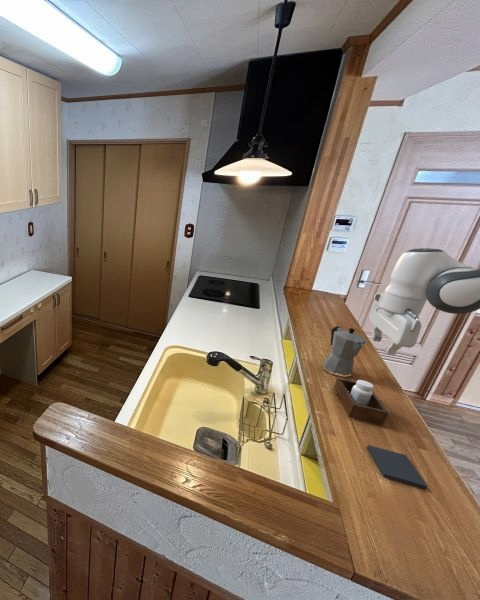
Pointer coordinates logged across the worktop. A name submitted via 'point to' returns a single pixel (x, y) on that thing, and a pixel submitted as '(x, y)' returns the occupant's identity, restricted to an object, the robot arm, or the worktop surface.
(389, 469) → the rubber mat
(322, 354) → the worktop surface
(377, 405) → the storage crate
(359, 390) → the pill bottle
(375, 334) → the robot arm
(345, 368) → the coffeepot
